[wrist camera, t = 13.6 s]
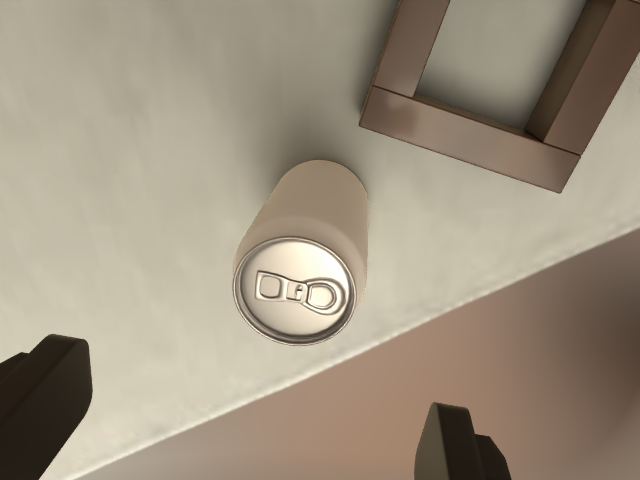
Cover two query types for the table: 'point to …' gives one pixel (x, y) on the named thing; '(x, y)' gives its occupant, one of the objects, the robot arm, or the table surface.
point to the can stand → (492, 136)
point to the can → (305, 256)
